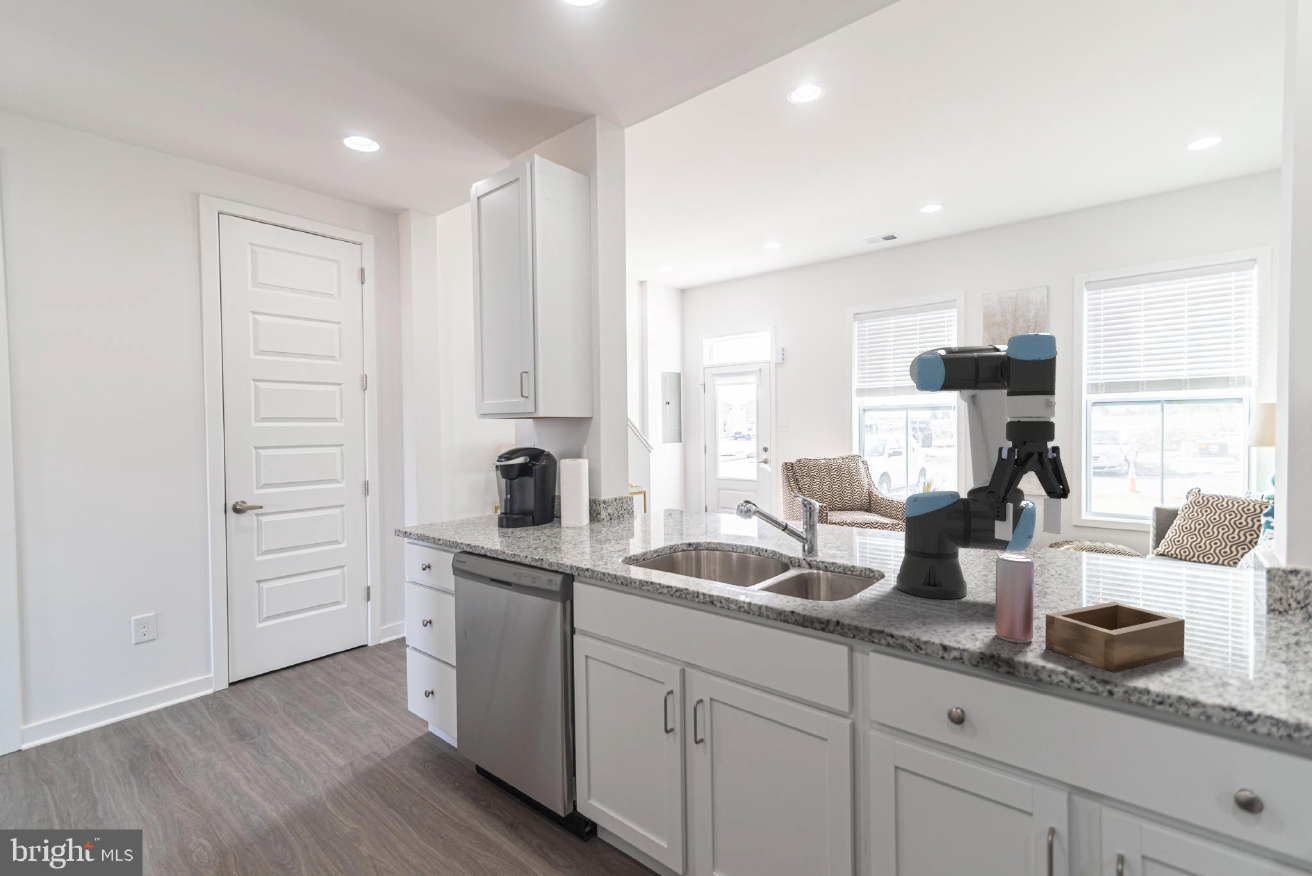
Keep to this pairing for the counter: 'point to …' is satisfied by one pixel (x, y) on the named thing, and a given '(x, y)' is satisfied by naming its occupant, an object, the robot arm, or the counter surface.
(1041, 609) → the counter surface
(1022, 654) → the counter surface
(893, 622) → the counter surface
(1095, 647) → the tray
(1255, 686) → the counter surface
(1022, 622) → the beverage can
